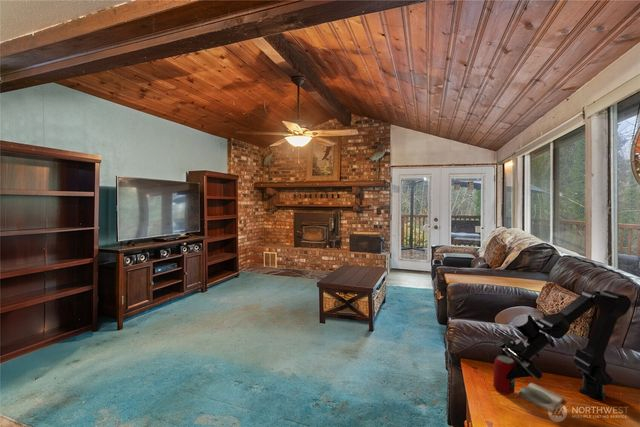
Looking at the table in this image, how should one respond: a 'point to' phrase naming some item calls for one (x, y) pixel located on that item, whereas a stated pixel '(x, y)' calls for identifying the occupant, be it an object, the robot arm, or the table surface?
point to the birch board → (541, 396)
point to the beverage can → (503, 374)
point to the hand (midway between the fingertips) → (500, 372)
